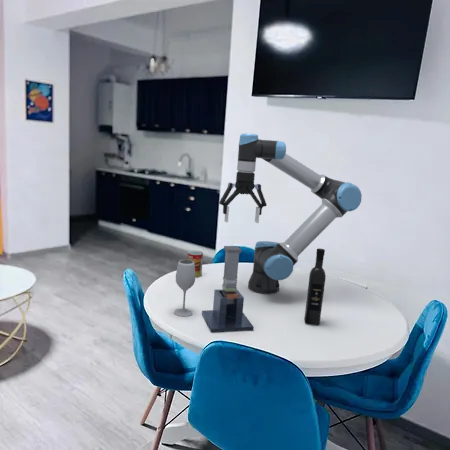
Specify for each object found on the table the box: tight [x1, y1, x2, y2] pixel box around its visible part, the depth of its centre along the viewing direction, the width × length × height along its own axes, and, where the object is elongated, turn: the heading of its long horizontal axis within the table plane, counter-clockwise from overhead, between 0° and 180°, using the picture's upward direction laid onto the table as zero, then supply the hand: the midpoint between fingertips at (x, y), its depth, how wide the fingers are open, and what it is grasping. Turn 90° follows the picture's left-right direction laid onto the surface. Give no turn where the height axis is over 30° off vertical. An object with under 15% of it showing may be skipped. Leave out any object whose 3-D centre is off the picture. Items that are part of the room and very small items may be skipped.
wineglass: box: [173, 259, 196, 317], centre depth 157 cm, size 8×8×21 cm
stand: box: [201, 288, 255, 334], centre depth 153 cm, size 16×16×13 cm
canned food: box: [186, 249, 204, 279], centre depth 204 cm, size 8×8×12 cm
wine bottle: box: [303, 248, 326, 327], centre depth 157 cm, size 6×6×30 cm
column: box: [221, 245, 242, 304], centre depth 150 cm, size 5×5×21 cm
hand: (241, 222), depth 171 cm, fingers open, 13 cm apart
